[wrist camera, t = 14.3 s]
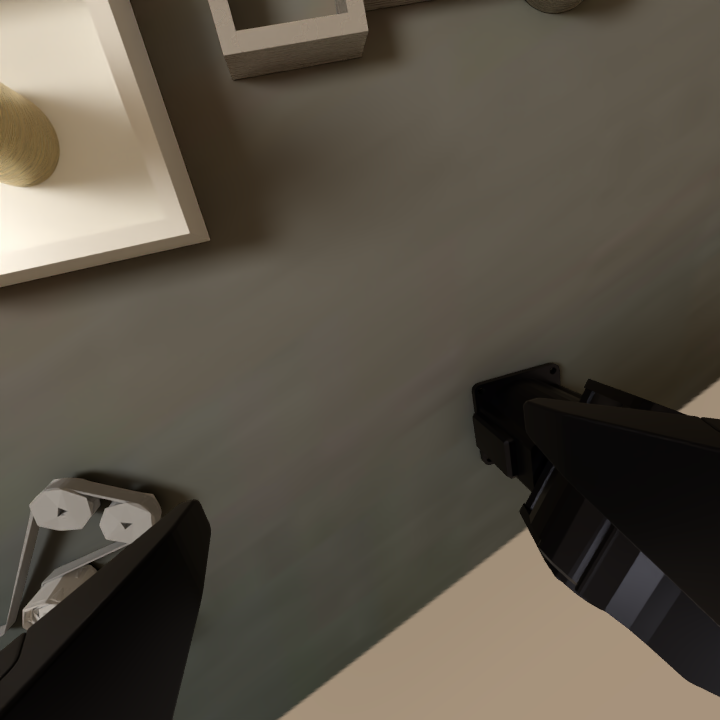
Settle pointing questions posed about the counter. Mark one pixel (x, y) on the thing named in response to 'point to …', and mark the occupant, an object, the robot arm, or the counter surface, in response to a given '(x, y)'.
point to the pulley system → (69, 512)
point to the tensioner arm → (311, 36)
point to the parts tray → (91, 143)
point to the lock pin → (25, 141)
